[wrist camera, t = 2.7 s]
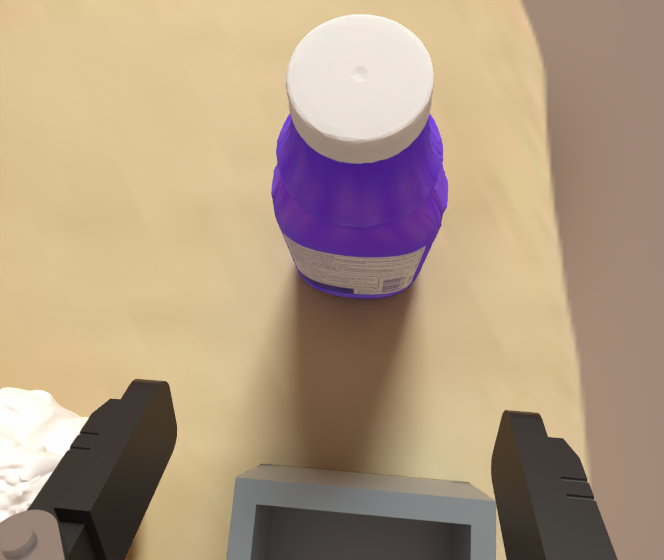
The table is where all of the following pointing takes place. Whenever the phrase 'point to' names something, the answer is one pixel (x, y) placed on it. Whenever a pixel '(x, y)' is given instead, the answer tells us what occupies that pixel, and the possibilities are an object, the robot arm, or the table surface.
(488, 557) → the tote
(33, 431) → the bust
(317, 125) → the bottle
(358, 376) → the table surface
